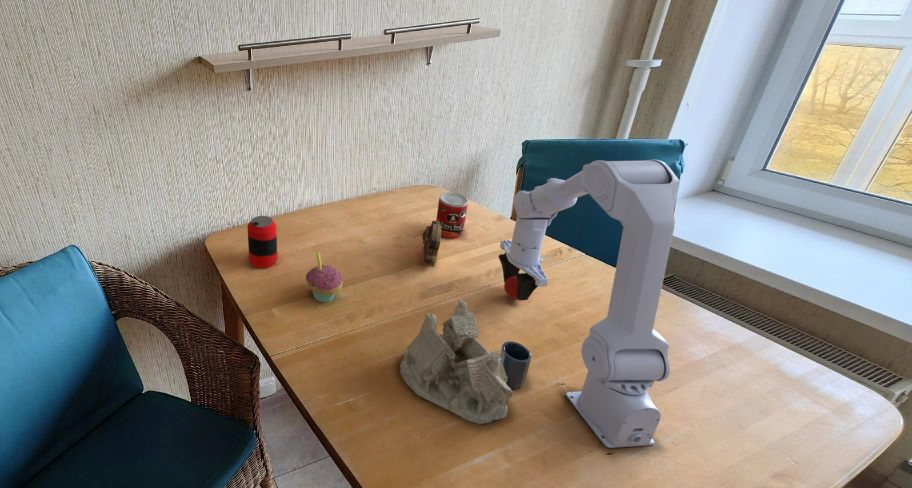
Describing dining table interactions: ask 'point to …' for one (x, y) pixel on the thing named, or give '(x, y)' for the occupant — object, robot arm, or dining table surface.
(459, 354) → the ceramic cottage
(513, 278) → the ball
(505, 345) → the cup
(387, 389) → the dining table surface
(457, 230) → the canned food
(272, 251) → the soda can
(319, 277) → the cupcake
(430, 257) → the wooden carving
